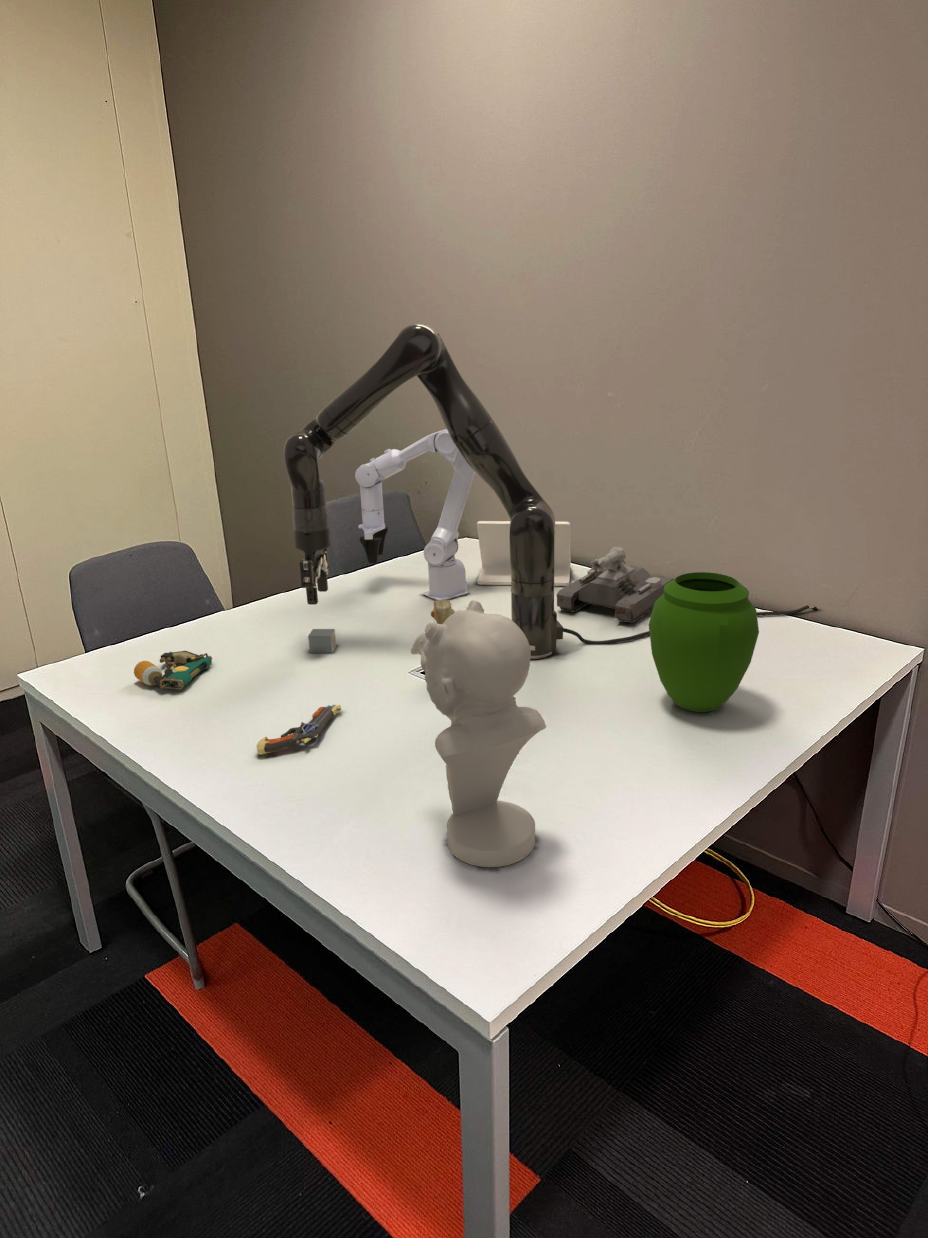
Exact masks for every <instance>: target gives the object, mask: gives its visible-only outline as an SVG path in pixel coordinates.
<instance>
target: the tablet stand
mask: <svg viewBox="0 0 928 1238" xmlns="http://www.w3.org/2000/svg"><path fill="white" fill-rule="evenodd" d="M510 522H511V520H510V521H509V520H505V521H504V520H477V522H476V531H477V537H478V544H479V551H480V557H481V558H480V559H481V570H480V573H479V575H478V577H477V580H476V581H477V582H476V584H478V585H484V586H485V585H486V586H487V585H489V586H490V585H491V586H511V567H510ZM571 560H572V558H571V522H569V521H555V539H554V566H555V570H554V587H556V586H557V587H566V586H567V585H569V584H570V580H571V579H570V578H571V565H572V564H571Z"/></svg>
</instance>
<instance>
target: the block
mask: <svg viewBox="0 0 928 1238" xmlns="http://www.w3.org/2000/svg"><path fill="white" fill-rule="evenodd" d="M307 638H308V639H307V640H308V648H309V649H308V650H309V653H311V654H332V653H333V652H334V650H335V649H336V647H337V639H336V629H335V628H312V629H311V631H310V633H309V634H308V636H307Z"/></svg>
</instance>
